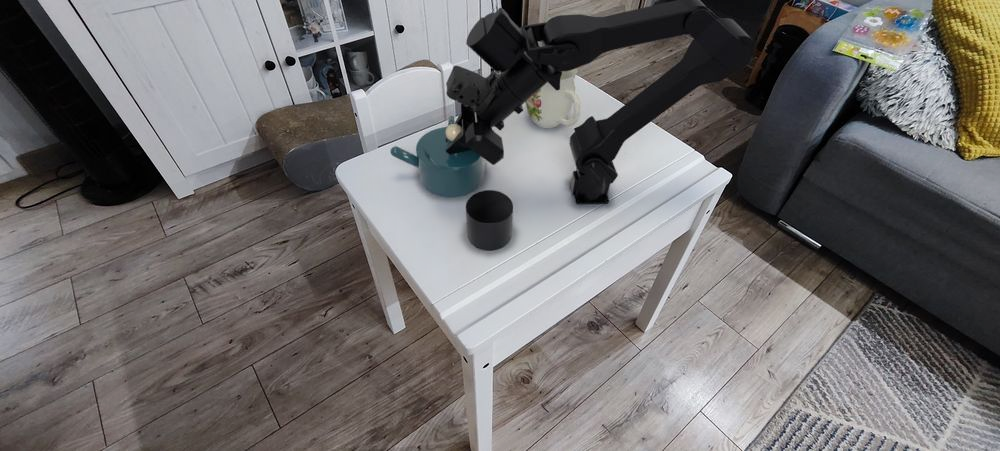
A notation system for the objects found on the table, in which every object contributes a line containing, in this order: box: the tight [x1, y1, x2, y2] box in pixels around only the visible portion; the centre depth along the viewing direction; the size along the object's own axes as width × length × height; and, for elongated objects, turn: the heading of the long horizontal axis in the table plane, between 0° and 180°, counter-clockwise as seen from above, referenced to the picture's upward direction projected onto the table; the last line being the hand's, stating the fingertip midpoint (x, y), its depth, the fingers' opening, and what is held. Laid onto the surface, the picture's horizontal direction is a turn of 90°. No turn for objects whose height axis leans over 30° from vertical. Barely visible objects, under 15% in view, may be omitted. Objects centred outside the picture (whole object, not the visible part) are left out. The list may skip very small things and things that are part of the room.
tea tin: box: [465, 189, 514, 252], centre depth 79 cm, size 8×8×7 cm
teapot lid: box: [429, 124, 481, 170], centre depth 77 cm, size 9×9×6 cm
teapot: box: [389, 115, 485, 198], centre depth 91 cm, size 18×17×8 cm
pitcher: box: [525, 68, 582, 129], centre depth 100 cm, size 11×18×14 cm, turn 32°
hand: (447, 147), depth 78 cm, fingers closed on teapot lid, 3 cm apart
